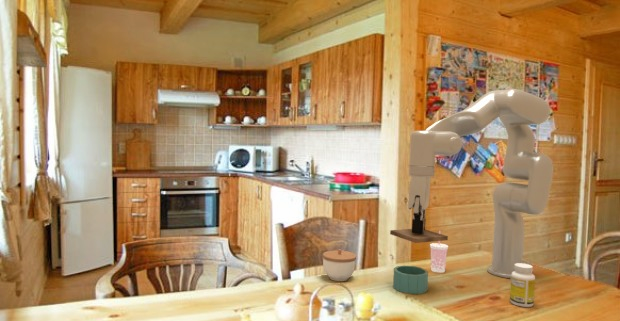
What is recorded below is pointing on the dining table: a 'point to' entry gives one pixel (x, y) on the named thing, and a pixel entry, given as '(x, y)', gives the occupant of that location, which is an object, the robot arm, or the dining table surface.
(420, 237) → the lid
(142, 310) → the dining table surface
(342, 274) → the lidded jar
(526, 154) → the robot arm
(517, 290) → the pill bottle
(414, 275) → the bowl
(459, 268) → the dining table surface
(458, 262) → the dining table surface
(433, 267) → the beverage cup
